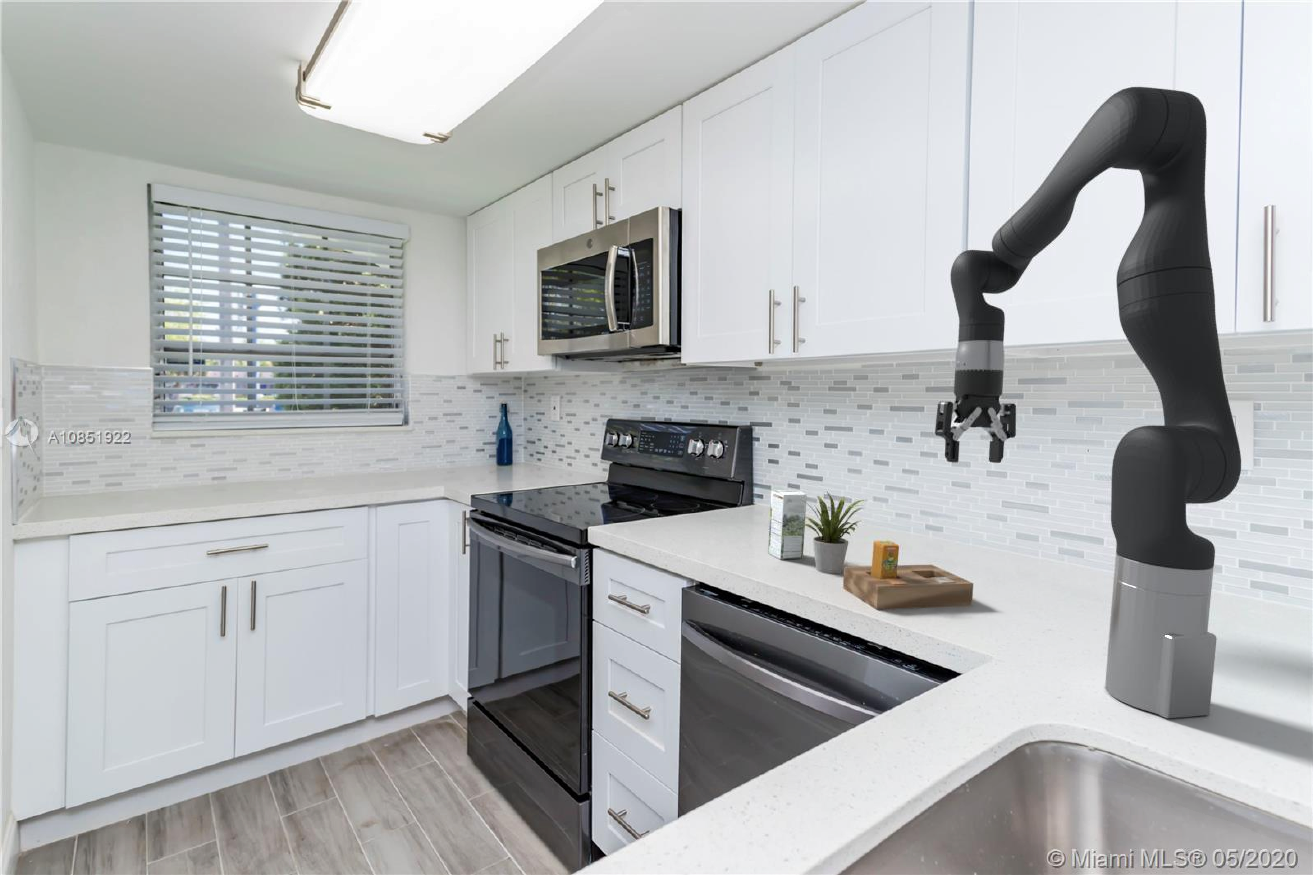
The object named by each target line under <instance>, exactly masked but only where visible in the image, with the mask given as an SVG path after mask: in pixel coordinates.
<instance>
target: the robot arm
mask: <svg viewBox="0 0 1313 875" xmlns="http://www.w3.org/2000/svg"><path fill="white" fill-rule="evenodd" d="M1207 134H1208V132H1207V115H1206V112H1205V107H1204V105H1203V103H1202V102H1201V100H1200V99H1199V98H1198V97H1197V96H1195V95H1194V94H1192V93H1190V92H1187V91H1181V90H1175V89H1166V88H1157V87H1147V86H1130V87H1126V88H1123V89H1121V90H1118V91H1117V92H1115V93H1114V94H1112V95H1110V97H1109V98H1107V99H1106V100H1105V101H1104V102H1103V103H1102V104H1101V105H1100V106H1099V107H1098V108H1097V109H1096V111H1095V112H1094V113H1093V114H1092V116H1091V117H1090V118H1089V119H1088V121H1087V122H1086V123H1085V124H1084V125H1083V127H1082V128H1081V130H1080V131H1079V132H1078V134H1077V135H1076V137H1075V138H1074V140H1073V141H1072V142H1071V143H1070V145H1069V146H1068V148H1067V149H1066V150H1065V151H1064V153H1063V154H1062V156H1060V158H1059V160H1058V161H1057V162H1056V164H1055V165H1054V167H1053V168H1052V170H1051V171H1050V172H1049V174H1048V175H1047V176H1046V177H1045V179H1044V181H1043V182H1042V183H1041V184H1040V186H1039V187H1038V188H1037V190H1036V191H1035V192H1034V193H1033V194H1032V195H1031V197H1029V199H1027V201H1026V202H1024V204H1023V205H1022V206H1021V207H1020V208H1019V209H1017V211H1015V213H1014V214H1013V215H1011V217H1010V218H1009V219H1008V220H1006V221H1005V223H1004V224H1002V226H1001V227H1000V228H998V230H997V231H996V232H995V234H993V237H992V239H991V249H992V250H982V249H967V250H964V251H962V252H961V253H959V254H958V256H956V258H955V259H954V262H953V263H952V266H951V270H950V285H951V290H952V293H953V298H954V302H955V307H956V311H957V314H958V336H957V337H958V338H957V342H958V343H957V349H956V353H955V362H954V363H955V366H954V380H953V382H954V384H953V394H954V396H955V401H954V402H953V401H938V403H937V408H936V409H937V410H936V420H935V429H934V434H935V435H936V436H937V437H940V438H942V439H944V442H945V443H944V446H945V447H944V448H945V449H944V457H945V459H946V461H947V462H948V463H958V462H959V459H960V458H959V457H960V441H959V439H960V438H961V436H962V435H963V434H964V433H965V432H967V431H968V430H969V428H982V429H983V430H984V431H985V432H987V435H988V436H989V438H990V439H991V440H990V441H989V448H988V449H989V451H988V452H989V453H988V462H989V463H993V464H1000V463H1001V462H1002V460H1003V458H1004V450H1005V442H1006V441H1007V440H1009V439H1011V438H1015V437H1016V436H1017V406H1016V404H1015V403H1009V402H1007V403H1006V402H1003V403H1000V397H1001V396H1002V395H1003V386H1004V370H1005V368H1004V367H1005V350H1004V349H1005V348H1004V343H1005V342H1004V340H1005V325H1006V324H1005V322H1006V319H1005V318H1006V317H1005V315H1006V314H1005V311H1004V310H1003V309H1002V308H999V307H997V306H994V305H991V304H990V303H988V302H987V301H986V299H985V297H984V294H992V295H997V294H1002V293H1005V292H1008V291H1009V290H1011V289H1012V288H1013V287H1015V286H1016V285H1017V283H1018V282H1019V280H1020V279H1021V277H1022V276H1023V275H1024V273H1025V271H1026V270H1027V269H1028V267H1029V265H1030V263H1031V262H1032V261H1033V259H1034V257H1036V256H1038V255H1039V253H1041V252H1042V251H1044V249H1046V248H1048V246H1049V245H1050V244H1051V243H1053V242H1054V241H1055V240H1056V239H1057V238H1058V237H1059V236H1060V235H1061V234H1062V233H1063V231H1064V230H1065V229H1066V228H1067V226H1068V224H1069V222H1070V221H1071V218H1072V215H1073V212H1074V209H1075V204H1076V201H1077V198H1078V196H1079V194H1080V192H1082V190H1083V189H1084V188H1085V187H1086V186H1087V185H1088V184H1089V183H1090V182H1092V180H1094V179H1095V178H1097V177H1098V176H1099V175H1101V174H1102V173H1104V172H1105V171H1107V170H1109V169H1110V168H1112V169H1116V170H1117V169H1121V170H1132V171H1138V172H1140V175H1141V180H1142V183H1143V185H1142V186H1143V192H1144V193H1143V194H1144V195H1143V196H1144V198H1143V200H1144V201H1143V202H1144V206H1143V207H1144V209H1143V215H1142V220H1141V221H1140V224H1139V226H1138V228H1137V230H1136V232H1135V234H1134V236H1133V237H1132V239H1131V240H1130V243H1129V244H1128V246H1127V248H1126V250H1125V252H1124V253H1123V256H1122V258H1121V260H1120V263H1119V266H1118V268H1117V272H1116V293H1117V294H1116V295H1117V305H1118V306H1117V307H1118V316H1119V317H1118V318H1119V322H1120V326H1121V329H1122V332H1123V334H1124V336H1125V337H1126V339H1127V341H1128V342H1129V344H1130V346H1131V347H1132V349H1133V351H1134V352H1135V354H1136V355H1137V356H1138V358H1139V359H1140V360H1141V362H1142V364H1143V365H1144V366H1145V367H1146V369H1147V371H1148V372H1149V374H1150V376H1151V377H1152V379H1153V381H1154V383H1155V385H1156V387H1157V389H1158V391H1159V396H1160V399H1161V404H1162V411H1163V422H1164V424H1163V425H1142V426H1137V427H1135V428H1132V430H1129V431H1128V432H1127V433H1126V434H1124V435H1123V437H1122V438H1121V439H1120V441H1119V443H1118V444H1117V447H1116V448H1115V451H1114V454H1113V455H1114V456H1113V459H1112V464H1111V465H1112V466H1111V467H1112V468H1111V493H1110V494H1111V496H1110V497H1111V498H1110V500H1111V502H1110V503H1111V504H1110V524H1111V529H1112V532H1113V535H1114V539H1115V541H1116V547H1115V548H1116V551H1115V558H1114V559H1115V561H1114V562H1115V563H1114V572H1113V583H1112V592H1111V593H1112V596H1111V607H1110V608H1111V609H1110V618H1109V619H1110V621H1109V631H1108V642H1107V643H1108V644H1107V655H1106V656H1107V658H1106V670H1105V685H1104V689H1105V690H1106V692H1107V693H1108V694H1109V695H1110V696H1112V697H1114V698H1115V699H1117V700H1118V701H1121V702H1123V704H1127V705H1129V706H1131V707H1134V708H1136V709H1137V708H1138V709H1140V710H1143V711H1147V712H1150V713H1154V714H1156V715H1159V716H1161V717H1163V718H1165V719H1174V718H1175V719H1177V718H1188V717H1198V716H1209V715H1210V712H1211V703H1212V702H1211V700H1212V690H1213V680H1214V671H1215V662H1216V661H1215V660H1216V648H1217V636H1216V634H1214V633H1212V632H1210V631H1209V630H1208V629H1209V620H1210V619H1209V618H1210V610H1211V609H1210V608H1211V600H1212V599H1211V598H1212V588H1213V587H1212V586H1213V579H1214V578H1213V577H1214V576H1213V575H1214V568H1215V567H1214V566H1215V560H1216V559H1215V557H1216V548H1215V545H1214V543H1213V542H1212V541H1211V540H1209V539H1208V538H1206V537H1203V536H1201V535H1198V534H1197V533H1194V532H1193V531H1192V530H1191V529H1190V528H1189V526H1188V522H1187V505H1188V504H1190V505H1191V504H1192V505H1193V504H1198V505H1199V504H1211V503H1216V502H1219V501H1222V500H1224V499H1225V498H1227V497H1228V496H1229V495H1230V494H1232V492H1233V491H1234V490H1235V489H1236V488H1237V485H1238V483H1239V481H1240V477H1241V472H1242V458H1241V457H1242V456H1241V455H1242V454H1241V449H1240V448H1241V447H1240V442H1239V438H1238V435H1237V430H1236V426H1235V422H1234V417H1233V414H1232V410H1231V406H1230V402H1229V397H1228V393H1227V389H1226V384H1225V379H1224V372H1223V363H1222V357H1221V349H1220V341H1219V334H1218V328H1217V327H1218V326H1217V325H1218V324H1217V319H1216V316H1217V315H1216V294H1215V287H1214V286H1215V285H1214V276H1213V275H1214V273H1213V268H1212V263H1211V262H1212V261H1211V256H1210V248H1209V236H1208V233H1209V232H1208V221H1207V207H1206V206H1207V205H1206V169H1207V168H1206V165H1207V164H1206V162H1207V141H1208V140H1207V136H1208V135H1207ZM954 414H955V416H954V417H953V415H954ZM998 415H999V417H998Z"/></svg>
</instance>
